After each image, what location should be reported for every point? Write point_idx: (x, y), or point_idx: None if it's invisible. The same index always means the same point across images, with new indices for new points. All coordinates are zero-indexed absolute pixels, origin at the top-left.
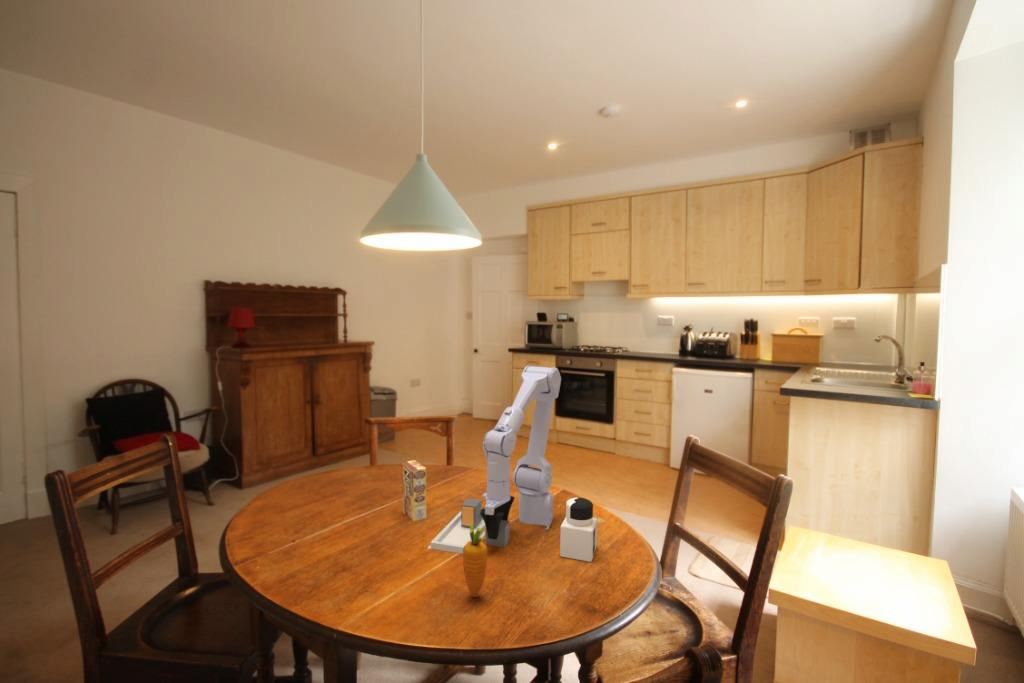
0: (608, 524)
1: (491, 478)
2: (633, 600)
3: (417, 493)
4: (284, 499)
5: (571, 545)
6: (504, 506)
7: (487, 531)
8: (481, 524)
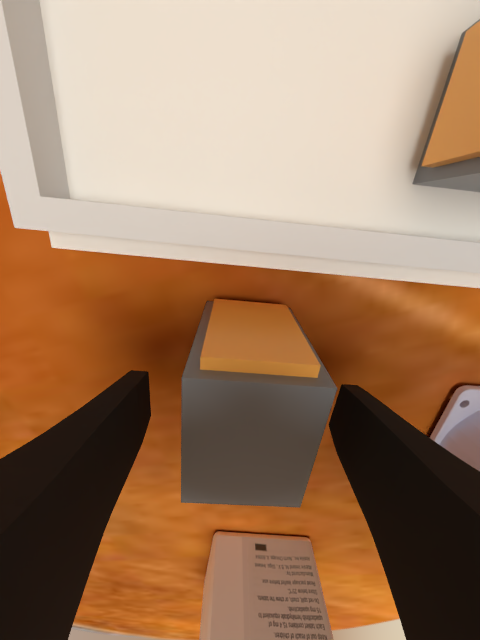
0: None
1: None
2: (79, 624)
3: None
4: None
5: (205, 609)
6: (430, 608)
7: (95, 400)
8: (416, 240)
